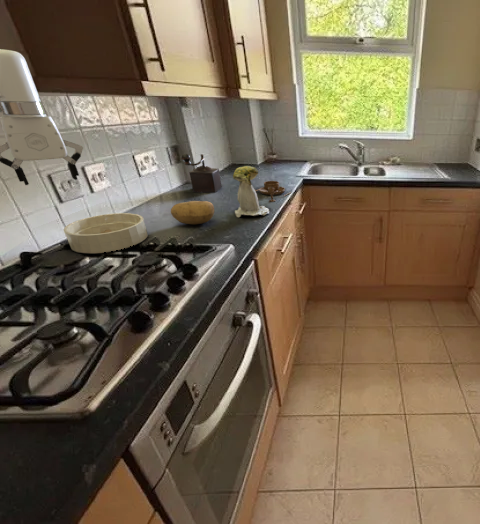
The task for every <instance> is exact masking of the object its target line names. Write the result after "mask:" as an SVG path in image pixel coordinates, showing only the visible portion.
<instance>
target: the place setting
mask: <svg viewBox="0 0 480 524" xmlns="http://www.w3.org/2000/svg"><path fill="white" fill-rule="evenodd" d="M255 191H256V192H259V193H260V194H262V195H264V196H270V199H268V202H270V203H275V202H276V201H277V200H276V199H274V196H278V195H281V194H284V193H285V191H286V188H285V187H284V186H281V185H280V182H279V181H277V180H266V181H264V182H263V186H262V187H260V188H258V189H255ZM291 193H293V192H292V191H290V192H288V193H286V194H284V195H283V197H287V195H289V194H291Z"/></svg>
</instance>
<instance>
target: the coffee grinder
mask: <svg viewBox="0 0 480 524" xmlns="http://www.w3.org/2000/svg"><path fill="white" fill-rule="evenodd" d="M180 160H181V161H182V162H183V164H184V166H187V167H188V166H192V167H195V168H193V169H192V170H191V171H189V177H190V182H191V187H192V192H193V193H203V194H205V193H206V194H207V193H208V194H209V193H212V194H215V193H217V192H218V191H220V190H221V189H222V188H223V186H222V180H221V175H220V174H221V173H220V168H218V167H217V168H214V167H210V166H208V165H206V164H205V156H204V154H200V160H199V161H198V162H195V163H192V162H191V161H190V160H191V155H190V154H188V153H182V154H181V155H180ZM198 165H199V166H198Z"/></svg>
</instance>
